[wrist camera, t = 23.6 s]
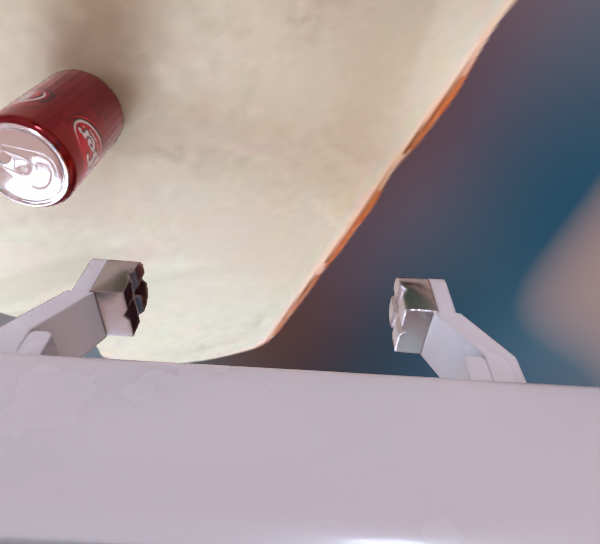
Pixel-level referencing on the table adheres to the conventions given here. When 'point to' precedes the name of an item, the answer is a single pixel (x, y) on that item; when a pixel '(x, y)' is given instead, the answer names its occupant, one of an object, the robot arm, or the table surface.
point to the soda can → (56, 137)
